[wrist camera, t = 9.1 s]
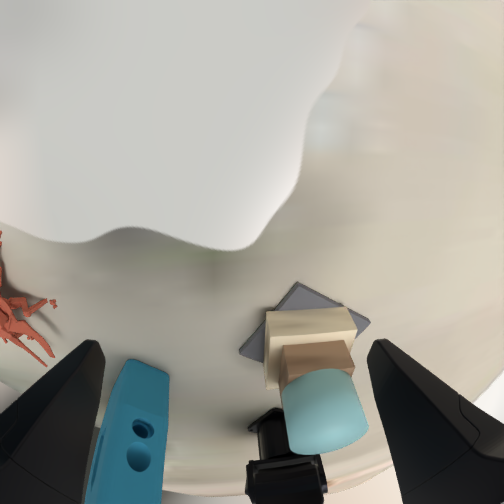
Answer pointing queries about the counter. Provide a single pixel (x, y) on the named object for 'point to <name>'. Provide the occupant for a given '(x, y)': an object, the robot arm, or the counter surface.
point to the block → (132, 439)
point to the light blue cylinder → (322, 412)
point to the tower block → (313, 360)
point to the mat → (297, 300)
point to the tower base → (302, 334)
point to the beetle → (20, 322)
